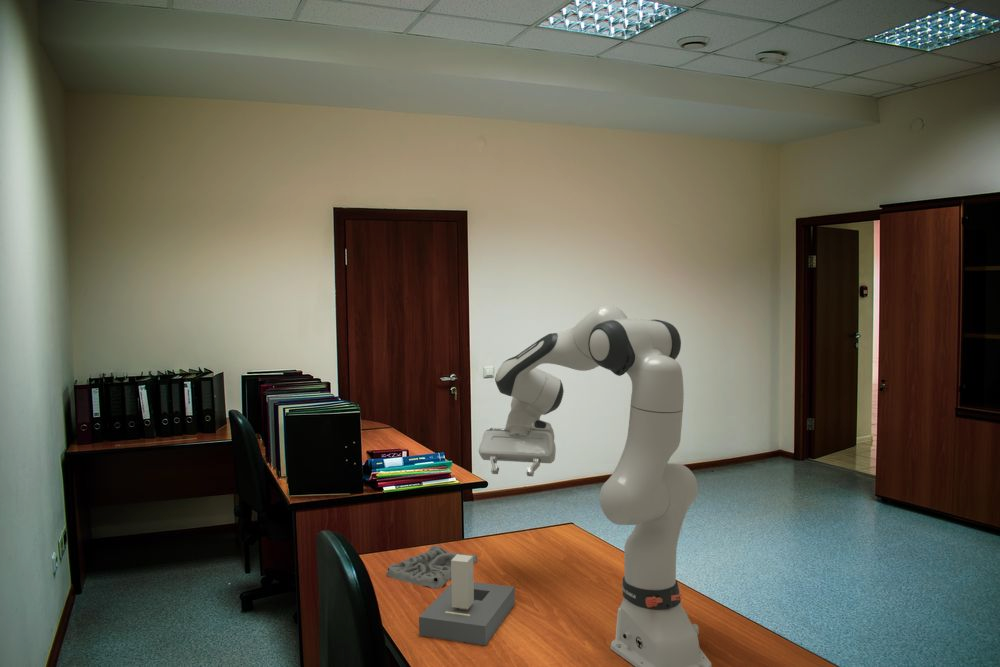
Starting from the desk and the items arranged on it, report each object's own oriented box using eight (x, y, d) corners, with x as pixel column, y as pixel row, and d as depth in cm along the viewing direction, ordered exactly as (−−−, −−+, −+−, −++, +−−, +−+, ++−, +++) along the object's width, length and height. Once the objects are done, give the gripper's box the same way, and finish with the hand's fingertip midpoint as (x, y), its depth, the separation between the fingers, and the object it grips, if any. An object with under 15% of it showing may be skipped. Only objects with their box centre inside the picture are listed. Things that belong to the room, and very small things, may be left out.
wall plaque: (438, 591, 187) (438, 577, 187) (382, 577, 197) (382, 564, 196) (486, 562, 207) (486, 549, 207) (433, 551, 217) (433, 538, 217)
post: (457, 620, 169) (456, 553, 168) (475, 623, 168) (474, 555, 167) (451, 629, 165) (449, 560, 164) (469, 631, 163) (467, 562, 162)
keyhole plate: (455, 596, 183) (454, 578, 182) (514, 604, 178) (514, 586, 177) (419, 635, 162) (418, 616, 161) (485, 645, 157) (485, 625, 156)
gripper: (482, 421, 192) (470, 465, 183) (556, 423, 186) (547, 469, 177) (487, 434, 196) (476, 478, 188) (560, 437, 190) (552, 482, 181)
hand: (511, 474), depth 182 cm, fingers open, 8 cm apart
